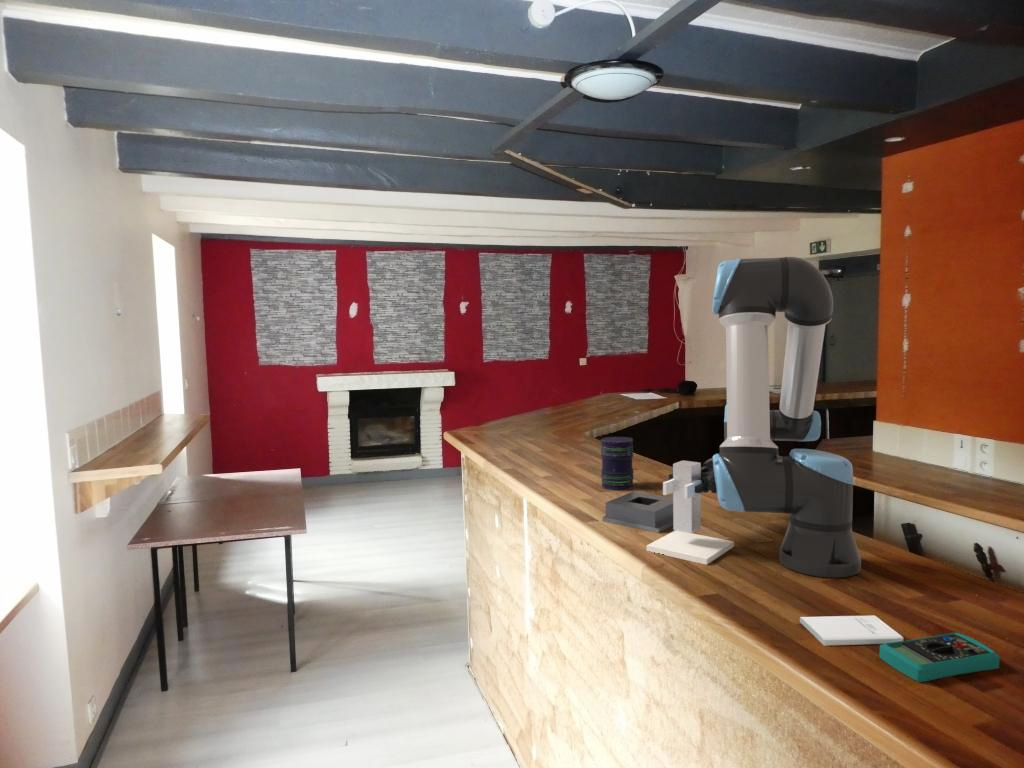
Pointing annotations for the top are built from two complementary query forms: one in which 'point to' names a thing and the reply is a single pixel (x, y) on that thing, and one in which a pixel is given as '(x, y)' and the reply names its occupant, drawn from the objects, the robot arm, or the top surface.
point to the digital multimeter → (939, 656)
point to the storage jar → (617, 463)
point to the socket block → (641, 511)
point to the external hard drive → (850, 630)
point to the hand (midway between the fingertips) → (675, 490)
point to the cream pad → (690, 547)
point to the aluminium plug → (686, 509)
